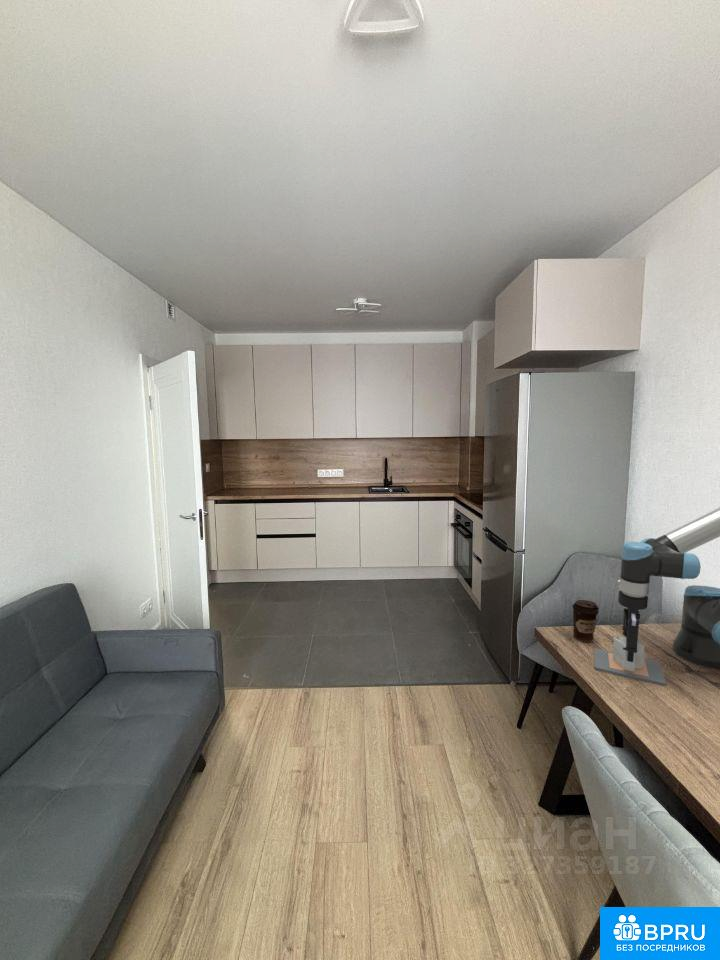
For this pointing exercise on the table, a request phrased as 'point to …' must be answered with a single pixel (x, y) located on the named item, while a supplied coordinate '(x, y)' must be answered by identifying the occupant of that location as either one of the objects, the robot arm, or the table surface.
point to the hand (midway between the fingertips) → (627, 662)
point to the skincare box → (619, 652)
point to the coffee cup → (584, 620)
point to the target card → (647, 674)
